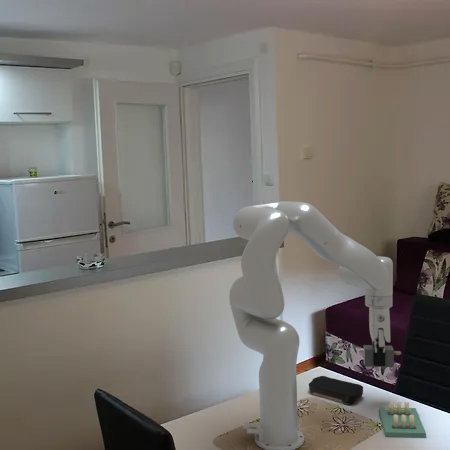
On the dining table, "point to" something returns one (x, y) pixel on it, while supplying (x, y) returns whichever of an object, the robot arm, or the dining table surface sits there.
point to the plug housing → (369, 356)
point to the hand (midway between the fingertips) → (378, 362)
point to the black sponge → (335, 389)
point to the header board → (401, 421)
